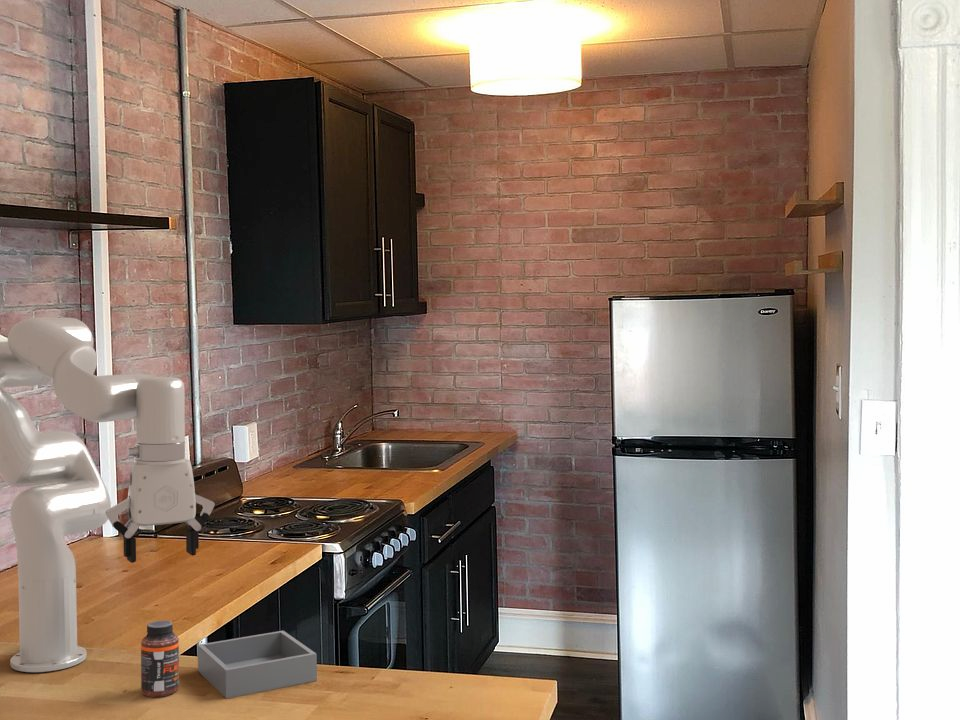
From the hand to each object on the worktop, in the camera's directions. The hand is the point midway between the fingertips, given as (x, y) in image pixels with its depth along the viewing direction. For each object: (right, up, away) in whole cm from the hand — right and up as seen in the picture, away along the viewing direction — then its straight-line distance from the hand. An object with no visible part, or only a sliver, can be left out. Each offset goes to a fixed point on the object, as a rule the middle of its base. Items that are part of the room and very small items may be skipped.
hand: (161, 557), depth 169 cm
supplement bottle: (0, -22, +1) cm, 22 cm away
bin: (+14, -22, +8) cm, 27 cm away
